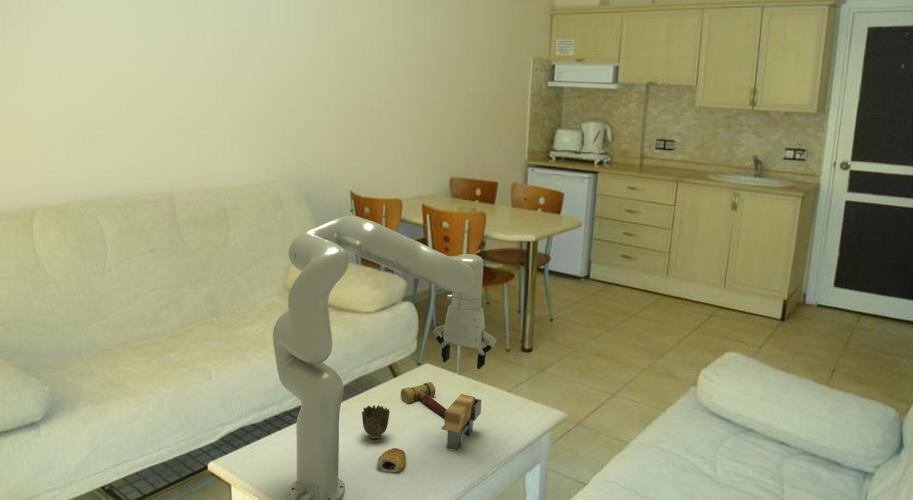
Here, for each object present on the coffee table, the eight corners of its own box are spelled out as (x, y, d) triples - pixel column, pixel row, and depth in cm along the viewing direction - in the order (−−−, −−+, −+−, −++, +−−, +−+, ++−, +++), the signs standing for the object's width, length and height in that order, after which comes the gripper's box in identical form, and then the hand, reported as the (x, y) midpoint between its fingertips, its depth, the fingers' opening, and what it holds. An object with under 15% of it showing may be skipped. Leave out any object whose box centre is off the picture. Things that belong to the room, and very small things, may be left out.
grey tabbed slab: (461, 452, 187) (463, 432, 186) (440, 447, 189) (441, 427, 188) (467, 446, 191) (468, 425, 190) (446, 441, 193) (447, 420, 192)
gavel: (468, 409, 206) (440, 417, 200) (467, 423, 207) (439, 432, 201) (428, 379, 222) (400, 386, 216) (426, 392, 223) (399, 399, 217)
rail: (458, 432, 186) (459, 414, 185) (444, 429, 187) (445, 411, 186) (473, 413, 197) (474, 396, 196) (460, 410, 198) (461, 394, 197)
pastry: (385, 453, 186) (386, 439, 185) (410, 457, 185) (411, 443, 184) (375, 471, 177) (375, 457, 176) (401, 475, 176) (402, 461, 175)
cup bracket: (473, 439, 195) (475, 407, 193) (451, 434, 197) (453, 402, 195) (479, 431, 200) (481, 399, 197) (458, 426, 202) (459, 395, 200)
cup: (384, 446, 189) (384, 418, 187) (357, 442, 190) (358, 415, 188) (392, 433, 196) (393, 406, 194) (366, 429, 197) (367, 403, 195)
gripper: (430, 300, 184) (427, 362, 188) (493, 311, 178) (489, 375, 182) (441, 293, 191) (438, 353, 195) (502, 303, 185) (498, 365, 189)
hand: (462, 363), depth 189 cm, fingers open, 9 cm apart
